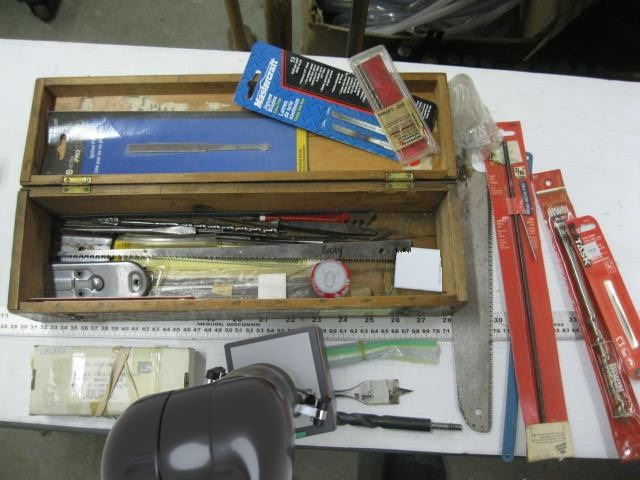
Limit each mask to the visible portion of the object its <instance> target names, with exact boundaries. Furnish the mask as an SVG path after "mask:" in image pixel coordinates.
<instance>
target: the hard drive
mask: <svg viewBox="0 0 640 480" xmlns="http://www.w3.org/2000/svg"><path fill="white" fill-rule="evenodd" d="M410 247H411V252H410V251H409V253H408V252H407V251H406V252H403V251H402V253H401V252H400V251H399V253H398V252H397V253H396V252H395V255H396V254H397V255H396V260H395V259H394V272H393V288H394V289H404V290H414V291H423V292H424V291H425V292H437V293H443V292H442V267H441V257H440V250H441V249H433V248H424V247H423V248H422V247H412V246H410Z"/></svg>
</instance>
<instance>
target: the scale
mask: <svg viewBox="0 0 640 480" xmlns="http://www.w3.org/2000/svg"><path fill="white" fill-rule="evenodd" d="M311 326H312V327H308V326H307V327H308V328H303V327H302V328H303V329H298V328H297V329H298V330H294V329H292V330H293V331H289V330H287V331H288V332H284V331H283V332H284V333H279V332H278V333H279V334H274V333H273V334H274V335H270V334H268V335H269V336H265V335H263V336H264V337H260V336H259V337H260V338H255V337H254V338H255V339H250V338H249V339H250V340H245V339H244V340H245V341H241V340H239V341H240V342H236V341H235V342H236V343H231V342H230V343H231V344H226V343H225V344H223V349H224V355H225V361H226V368H227V369H226V370H227V373H230V372H231V371H232V370H233V371H234V370H236V369H238V368H241V367H245V366H248V365H252V364H256V363H269V364H272V365H280V366H285V367H287V368H288V369H290V370H291V371H292V372H293V373H294V375H295V376H296V378H297V380H298V385H299V386H301V387H303V388H306V389H307V388H309V389H312V390H313V391H314V392H315V393H317V398H319V399H320V398H321V397H322V396H325V395H326V396H329V393H328V388H327V383H326V378H325V373H324V368H323V362H322V357H321V352H320V347H319V342H318V337H317V332H316V327H315V326H313V325H311ZM310 418H311V416H308V415H301V417H300V418H299V419H294V421H295V433H296V439H295V440H299V439H303V438H307V437H312V436H317V435H322V434H328V433H331V432H335V431H336V429H335V423H334V418H333V413H332V408H331V404H330V408H329V412H328V418H327V421H326V423H325V425H324V427H320V428H318V427H316V426H315V425H313V422H310Z"/></svg>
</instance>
